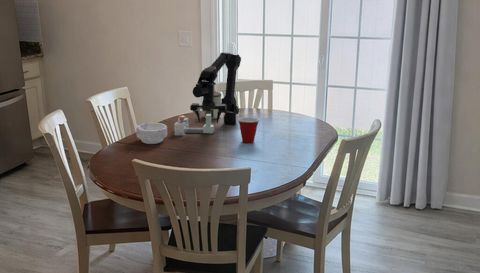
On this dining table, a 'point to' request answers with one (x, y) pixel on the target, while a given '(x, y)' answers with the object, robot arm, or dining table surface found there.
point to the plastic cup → (248, 129)
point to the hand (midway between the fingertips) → (208, 123)
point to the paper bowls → (151, 132)
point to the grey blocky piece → (181, 127)
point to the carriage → (208, 125)
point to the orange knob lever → (181, 118)
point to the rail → (196, 130)
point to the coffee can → (217, 101)
